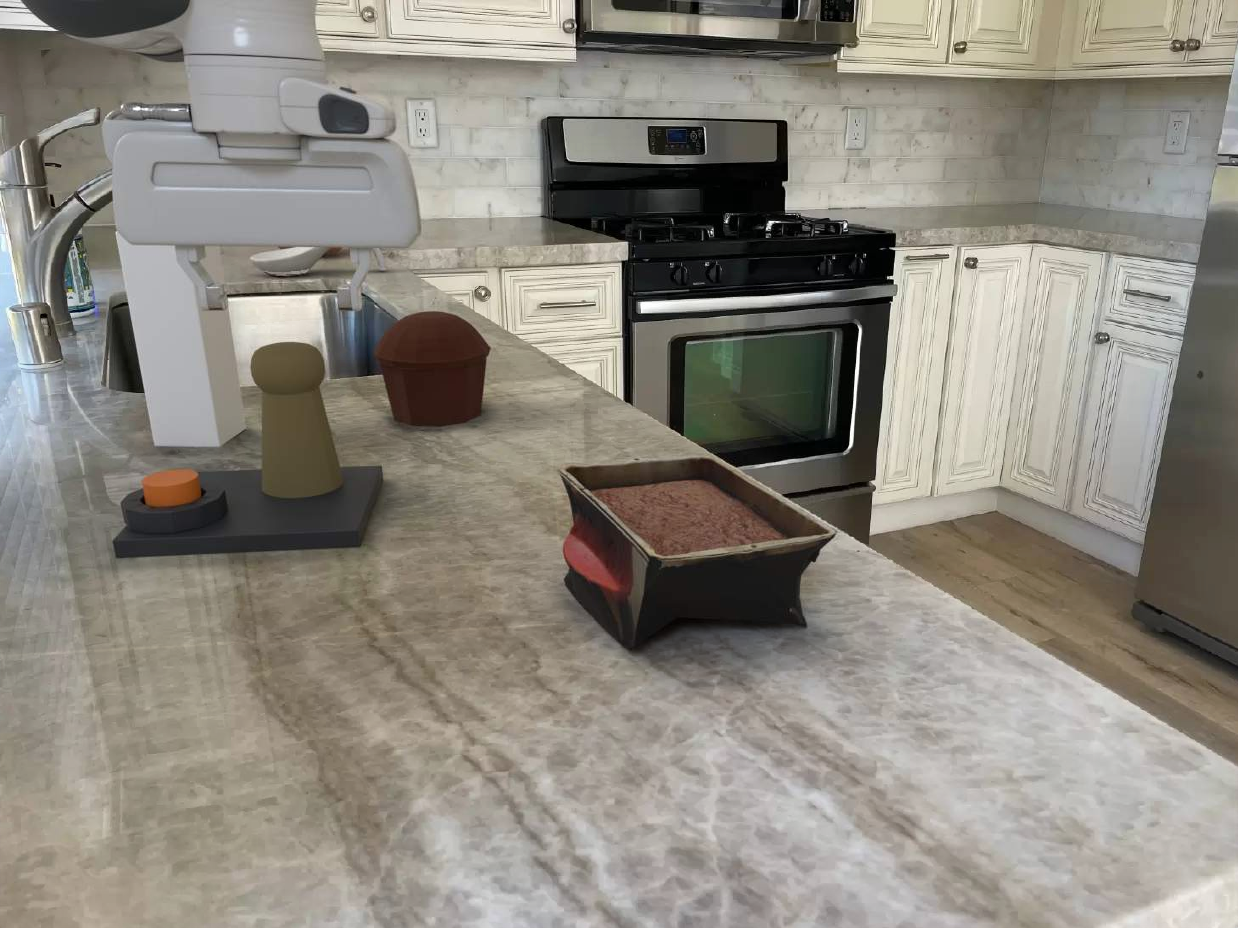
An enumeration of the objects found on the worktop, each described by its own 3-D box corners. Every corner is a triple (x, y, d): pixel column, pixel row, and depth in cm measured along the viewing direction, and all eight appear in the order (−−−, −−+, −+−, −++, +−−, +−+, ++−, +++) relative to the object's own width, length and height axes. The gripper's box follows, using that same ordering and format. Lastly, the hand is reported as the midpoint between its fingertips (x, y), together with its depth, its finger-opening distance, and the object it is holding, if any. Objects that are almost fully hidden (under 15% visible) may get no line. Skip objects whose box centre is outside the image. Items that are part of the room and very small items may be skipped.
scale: (111, 559, 69) (103, 518, 67) (175, 488, 81) (169, 453, 80) (359, 548, 71) (355, 508, 70) (383, 481, 84) (380, 446, 83)
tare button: (138, 510, 70) (133, 487, 69) (155, 492, 73) (151, 469, 72) (193, 508, 70) (189, 485, 70) (208, 490, 74) (204, 468, 73)
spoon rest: (252, 280, 180) (246, 239, 177) (252, 271, 190) (246, 232, 187) (389, 275, 188) (385, 235, 185) (382, 266, 198) (379, 228, 195)
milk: (154, 447, 91) (104, 192, 83) (185, 427, 97) (141, 186, 89) (221, 448, 91) (178, 192, 83) (248, 428, 97) (210, 187, 89)
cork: (247, 484, 78) (226, 343, 74) (319, 466, 83) (303, 332, 79) (285, 504, 75) (265, 357, 71) (358, 484, 79) (343, 344, 75)
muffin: (478, 431, 97) (472, 327, 93) (364, 429, 97) (353, 325, 94) (503, 399, 108) (498, 305, 104) (400, 397, 108) (392, 303, 105)
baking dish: (739, 566, 74) (726, 431, 71) (866, 644, 57) (854, 473, 55) (547, 609, 69) (525, 467, 67) (624, 708, 53) (599, 524, 50)
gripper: (78, 100, 64) (115, 317, 69) (408, 110, 67) (421, 318, 72) (114, 101, 70) (146, 301, 75) (417, 110, 73) (428, 302, 78)
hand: (283, 309), depth 74 cm, fingers open, 8 cm apart
